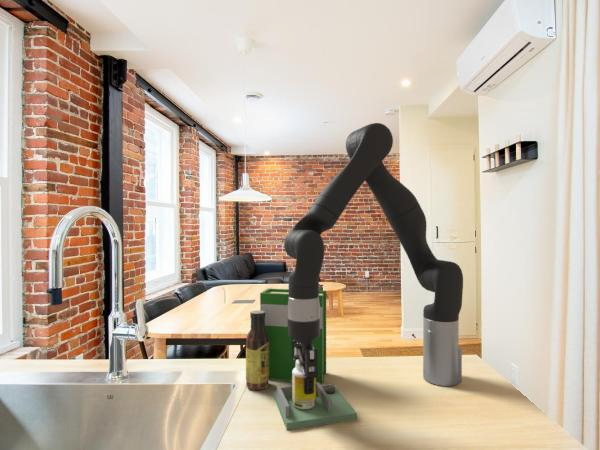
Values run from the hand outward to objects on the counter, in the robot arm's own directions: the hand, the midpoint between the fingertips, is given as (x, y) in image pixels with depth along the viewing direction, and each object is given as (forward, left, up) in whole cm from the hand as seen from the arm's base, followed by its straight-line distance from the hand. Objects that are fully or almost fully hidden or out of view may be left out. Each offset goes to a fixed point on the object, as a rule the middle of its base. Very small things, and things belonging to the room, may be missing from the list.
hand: (303, 385), depth 86 cm
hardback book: (-2, -20, -6) cm, 21 cm away
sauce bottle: (+9, -16, -6) cm, 19 cm away
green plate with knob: (-2, -1, -6) cm, 7 cm away
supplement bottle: (0, 0, -5) cm, 5 cm away
